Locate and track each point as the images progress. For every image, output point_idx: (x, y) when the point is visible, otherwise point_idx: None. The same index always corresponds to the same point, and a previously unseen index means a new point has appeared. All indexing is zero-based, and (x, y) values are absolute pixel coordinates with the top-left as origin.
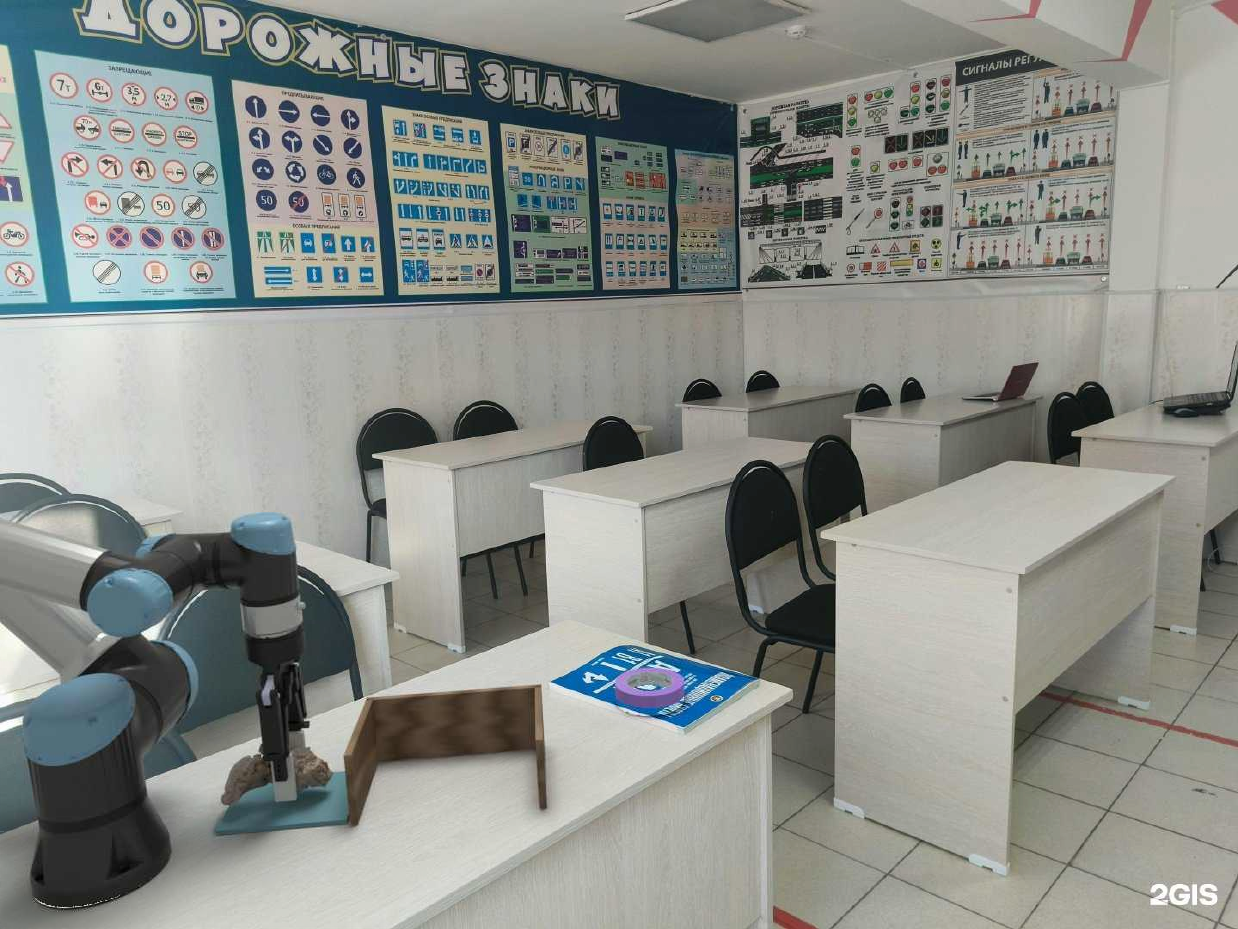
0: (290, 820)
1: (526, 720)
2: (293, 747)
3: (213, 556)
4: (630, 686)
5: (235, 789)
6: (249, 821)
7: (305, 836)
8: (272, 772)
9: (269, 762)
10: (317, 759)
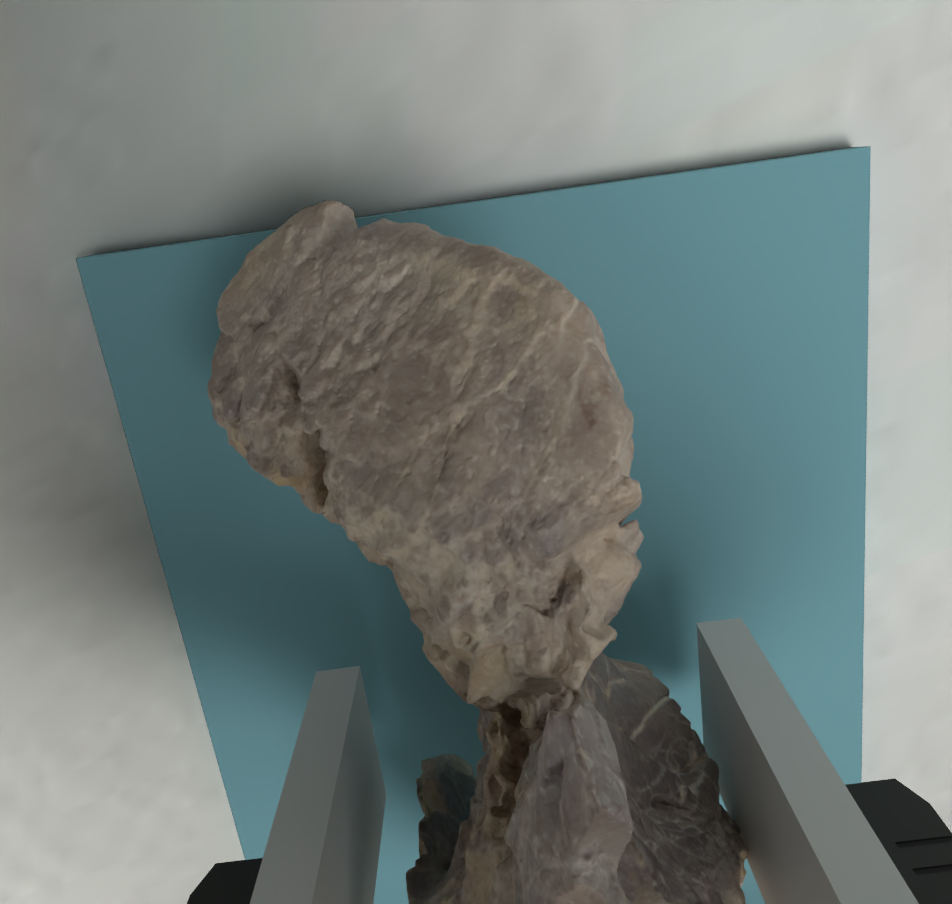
0: (256, 732)
1: None
2: (795, 892)
3: None
4: None
5: (241, 420)
6: (223, 473)
7: (154, 828)
8: (262, 876)
9: (541, 721)
10: None
